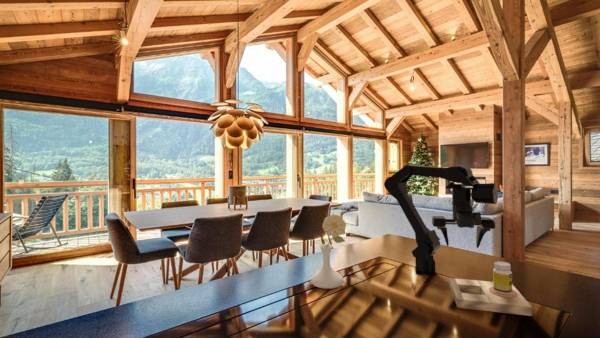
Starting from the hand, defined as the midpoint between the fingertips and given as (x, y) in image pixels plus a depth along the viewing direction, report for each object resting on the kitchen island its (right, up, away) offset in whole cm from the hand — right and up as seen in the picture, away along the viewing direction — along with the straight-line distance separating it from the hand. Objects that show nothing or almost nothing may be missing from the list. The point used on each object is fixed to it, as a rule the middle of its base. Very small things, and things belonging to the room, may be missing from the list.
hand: (462, 246), depth 105 cm
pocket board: (0, -12, -13) cm, 18 cm away
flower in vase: (-46, -14, 0) cm, 48 cm away
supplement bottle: (+4, -10, -15) cm, 18 cm away
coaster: (+4, -10, -15) cm, 18 cm away
